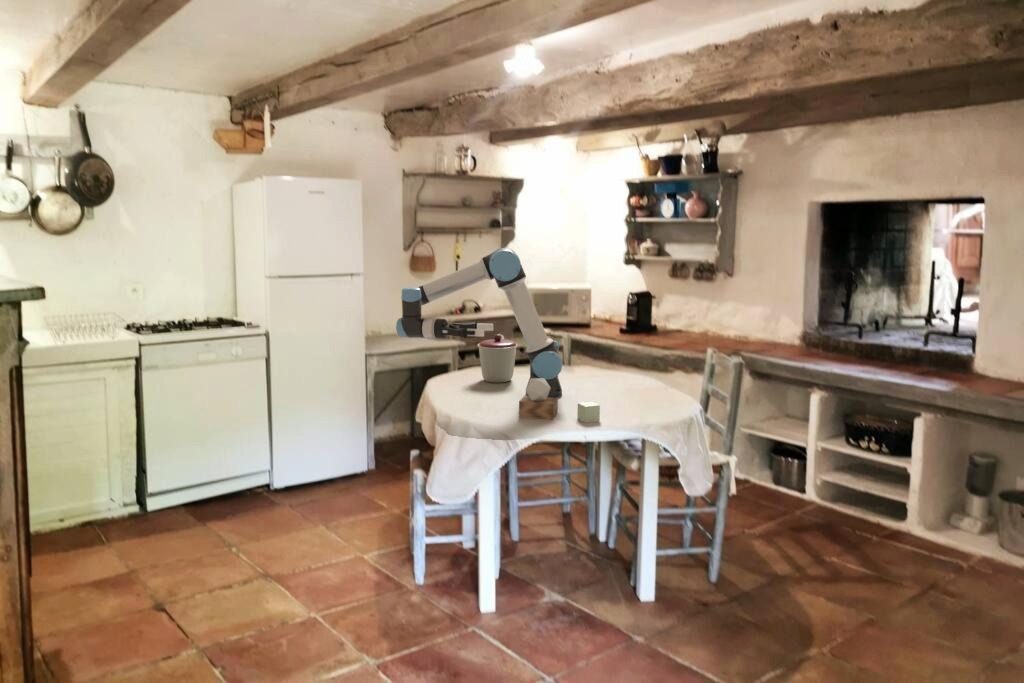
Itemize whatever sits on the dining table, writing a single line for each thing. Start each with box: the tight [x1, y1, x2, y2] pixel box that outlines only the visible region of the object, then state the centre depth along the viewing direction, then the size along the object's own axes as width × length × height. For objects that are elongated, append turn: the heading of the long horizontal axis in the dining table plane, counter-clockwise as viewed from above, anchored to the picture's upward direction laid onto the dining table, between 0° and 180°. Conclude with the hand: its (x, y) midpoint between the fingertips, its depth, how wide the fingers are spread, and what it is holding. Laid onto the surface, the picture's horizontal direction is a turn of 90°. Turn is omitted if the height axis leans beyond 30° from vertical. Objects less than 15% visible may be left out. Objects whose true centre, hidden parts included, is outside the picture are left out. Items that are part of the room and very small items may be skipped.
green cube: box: [576, 401, 601, 423], centre depth 293 cm, size 6×6×6 cm
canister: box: [477, 334, 519, 384], centre depth 356 cm, size 18×18×21 cm
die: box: [525, 378, 551, 401], centre depth 298 cm, size 8×9×10 cm
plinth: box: [518, 395, 559, 420], centre depth 299 cm, size 13×9×6 cm
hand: (488, 330), depth 304 cm, fingers open, 13 cm apart
